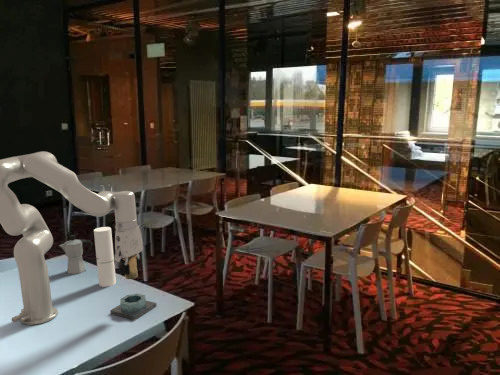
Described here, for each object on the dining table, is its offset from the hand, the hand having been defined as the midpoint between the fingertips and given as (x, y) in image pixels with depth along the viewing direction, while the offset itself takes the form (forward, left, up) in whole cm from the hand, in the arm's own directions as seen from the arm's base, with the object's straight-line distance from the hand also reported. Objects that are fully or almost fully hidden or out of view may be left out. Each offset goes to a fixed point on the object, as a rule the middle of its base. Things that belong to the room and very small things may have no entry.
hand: (131, 271), depth 160 cm
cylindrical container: (+15, +29, -16) cm, 36 cm away
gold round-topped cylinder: (0, 0, -2) cm, 2 cm away
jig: (0, 0, -16) cm, 16 cm away
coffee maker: (+21, +54, -16) cm, 60 cm away
